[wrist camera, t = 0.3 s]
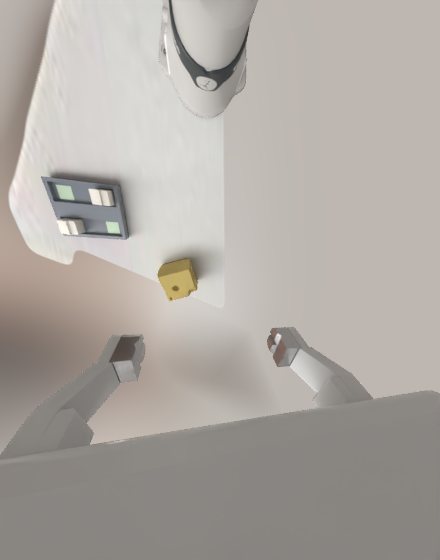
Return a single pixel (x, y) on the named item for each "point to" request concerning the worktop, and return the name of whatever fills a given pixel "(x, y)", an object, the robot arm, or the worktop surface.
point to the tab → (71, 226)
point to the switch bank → (87, 207)
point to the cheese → (177, 279)
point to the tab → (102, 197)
